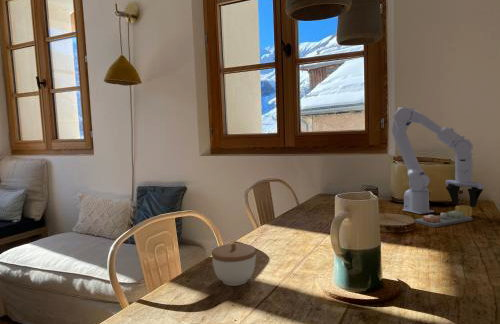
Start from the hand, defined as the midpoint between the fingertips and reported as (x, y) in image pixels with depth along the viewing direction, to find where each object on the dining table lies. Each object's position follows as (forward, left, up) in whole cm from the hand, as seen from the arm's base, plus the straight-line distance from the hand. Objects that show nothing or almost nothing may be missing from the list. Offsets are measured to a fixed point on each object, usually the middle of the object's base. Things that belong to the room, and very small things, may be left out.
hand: (463, 205), depth 145 cm
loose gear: (0, 0, -4) cm, 4 cm away
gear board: (+2, -14, -4) cm, 14 cm away
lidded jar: (+16, -102, -4) cm, 103 cm away
